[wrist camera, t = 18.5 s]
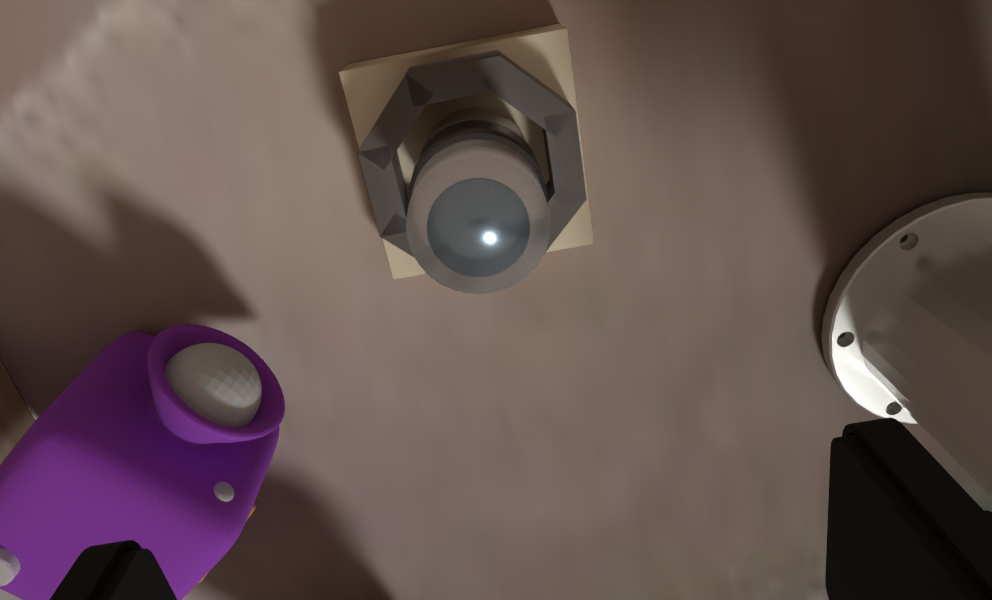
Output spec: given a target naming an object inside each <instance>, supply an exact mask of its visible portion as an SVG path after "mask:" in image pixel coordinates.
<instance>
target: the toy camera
mask: <svg viewBox="0 0 992 600" xmlns="http://www.w3.org/2000/svg"><path fill="white" fill-rule="evenodd" d="M284 412H285V403H284V397H283V393H282V390H281V387H280V385H279V383H278V381H277V379H276V377H275V375H274V374H273V372H272V371H271V369H270V368H269V367H268V366H267V364H266V363H265V362H264V361H263V360H262V359H261V358H260V357H259V356H258V355H257V354H256V353H255V352H254V351H253V350H252V349H251V348H250V347H248V346H247V345H246V344H244V343H243V342H241V341H239V340H238V339H236V338H234V337H232V336H230V335H228V334H226V333H224V332H222V331H219V330H216V329H213V328H209V327H205V326H199V325H191V324H183V325H176V326H172V327H169V328H166V329H164V330H162V331H161V332H159V333H158V334H157V335H156V336H153V335H151V334H148V333H145V332H141V331H133V332H129V333H126V334H124V335H122V336H121V337H119V338H117V339H116V340H114V341H113V342H112V343H110V344H109V345H108V346H107V347H106V348H104V349H103V350H102V351H101V352H100V353H99V354H98V355H97V356H96V357H95V358H94V359H93V360H92V361H91V362H90V363H89V364H88V365H87V367H86V368H85V369H84V370H83V371H82V372H81V373H80V374H79V375H78V376H77V377H76V378H75V379H74V380H73V381H72V382H71V383H70V384H69V385H68V386H67V387H66V389H65V390H64V391H63V392H62V393H61V394H60V395H59V396H58V397H57V398H56V399H55V400H54V401H53V402H52V403H51V404H50V405H49V406H48V407H47V409H46V410H45V411H44V412H43V413H42V414H41V415H40V416H39V417H38V418H37V420H36V421H35V422H34V423H33V424H32V425H31V427H30V428H29V429H28V430H27V431H26V433H25V434H24V435H23V436H22V438H21V439H20V440H19V442H18V443H17V444H16V445H15V447H14V448H13V449H12V450H11V452H10V453H9V454H8V456H7V457H6V458H5V460H4V461H3V462H2V463H1V465H0V589H2V590H4V591H7V592H9V593H11V594H13V595H15V596H17V597H19V598H21V599H23V600H50V598H51V597H52V595H53V594H54V592H55V591H56V589H57V588H58V586H59V585H60V583H61V582H62V580H63V579H64V577H65V576H66V574H67V573H68V571H69V570H70V568H71V567H72V565H73V564H74V562H75V561H76V559H77V558H78V556H79V555H80V554H81V553H82V552H83V551H84V549H86V548H88V547H90V546H95V545H101V544H107V543H113V542H120V541H126V540H134V541H135V542H137V543H139V545H140V546H141V547H142V549H148V550H150V551H151V552H152V553H153V555H154V556H155V558H156V560H157V562H158V564H159V566H160V568H161V569H162V571H163V573H164V575H165V577H166V579H167V581H168V583H169V585H170V587H171V588H172V590H173V592H174V594H175V596H176V598H177V600H182V599H183V598H184V597H185V596H186V595H187V594H188V592H189V591H190V590H191V589H192V588H193V587H194V586H195V585H196V584H197V583H200V582H201V581H202V580H203V579H204V578H205V576H206V575H207V574H208V572H209V571H210V570H211V569H212V568H213V567H214V566H215V565H216V564H217V563H218V562H219V561H220V560H221V559H222V557H223V556H224V555H225V554H226V553H227V552H228V551H229V550H230V548H231V547H232V546H233V544H234V543H235V541H236V540H237V538H238V537H239V535H240V533H241V531H242V529H243V527H244V525H245V523H246V521H247V520H248V518H249V517H250V516H251V514H252V513H253V511H254V510H255V508H256V506H255V505H254V502H255V499H256V497H257V494H258V492H259V489H260V487H261V484H262V482H263V479H264V477H265V474H266V472H267V469H268V467H269V464H270V461H271V459H272V456H273V454H274V450H275V447H276V444H277V441H278V437H279V424H280V423H281V421H282V419H283V416H284Z"/></svg>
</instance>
